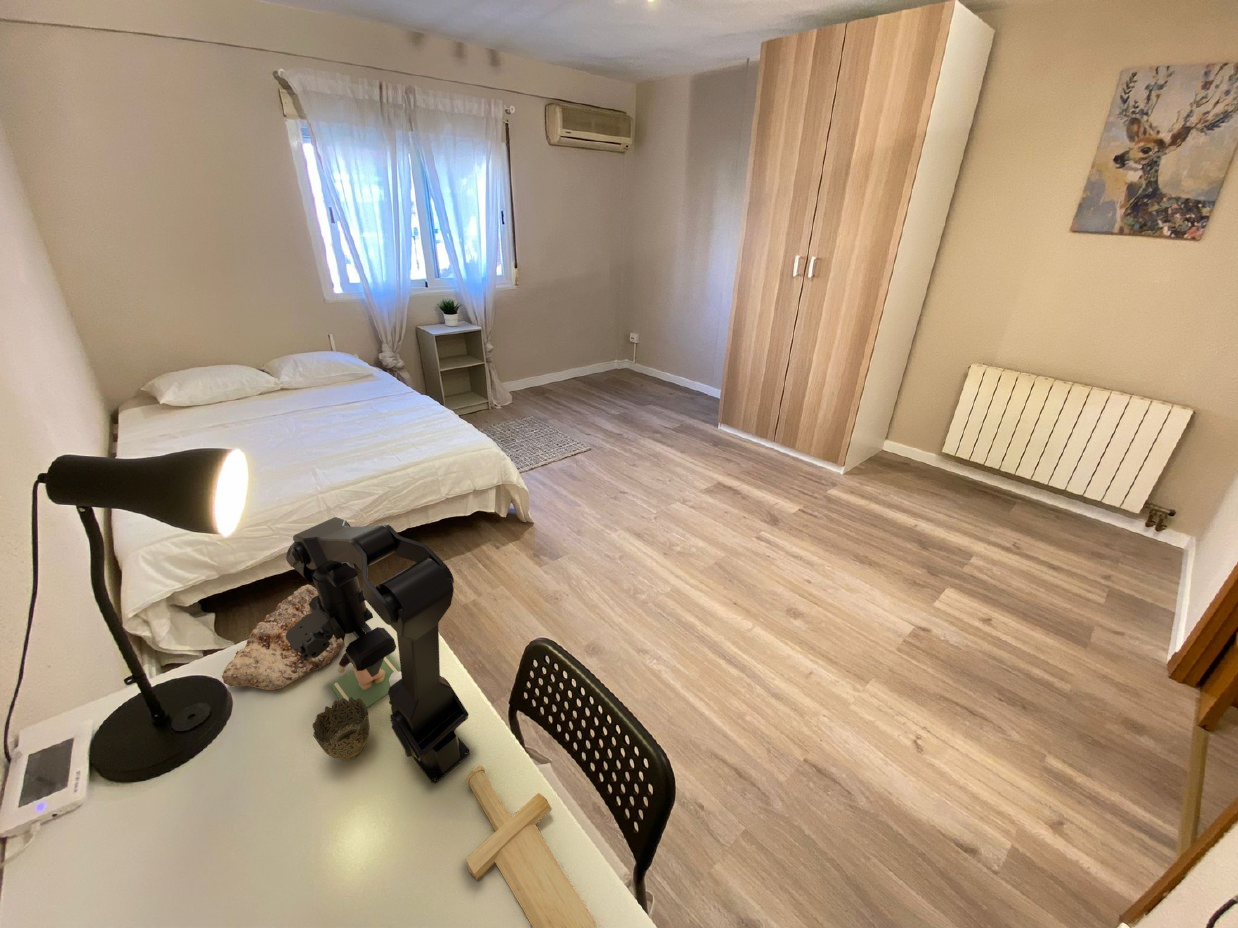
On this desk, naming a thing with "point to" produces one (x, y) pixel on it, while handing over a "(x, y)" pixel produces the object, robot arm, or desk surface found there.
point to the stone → (277, 648)
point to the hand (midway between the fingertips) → (362, 659)
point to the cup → (342, 728)
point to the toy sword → (526, 860)
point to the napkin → (350, 688)
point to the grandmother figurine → (361, 676)
